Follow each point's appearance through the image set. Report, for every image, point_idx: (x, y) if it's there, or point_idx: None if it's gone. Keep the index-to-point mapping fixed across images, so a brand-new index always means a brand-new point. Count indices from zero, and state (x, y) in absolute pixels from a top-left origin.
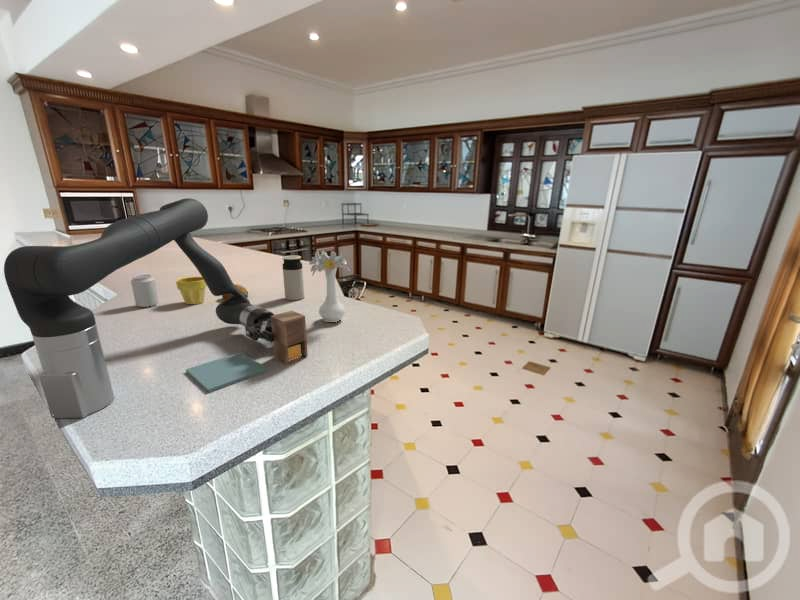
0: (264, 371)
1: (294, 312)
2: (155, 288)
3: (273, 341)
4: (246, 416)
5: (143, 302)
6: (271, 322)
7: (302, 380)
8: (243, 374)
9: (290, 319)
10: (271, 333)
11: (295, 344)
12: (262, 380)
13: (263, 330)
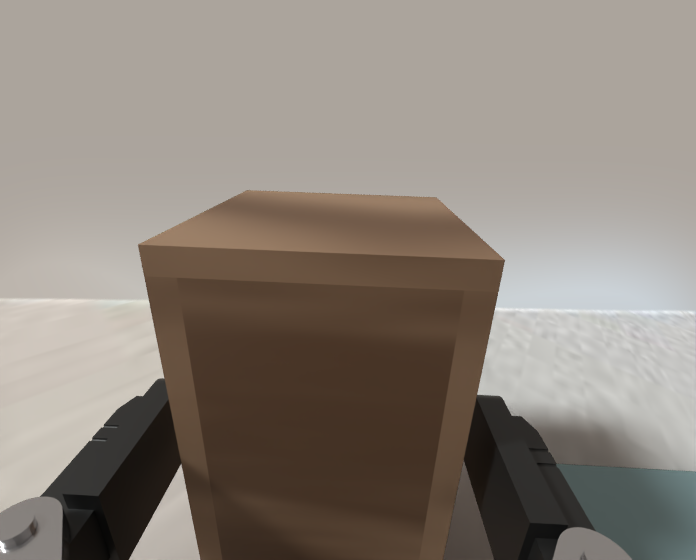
0: None
1: (209, 218)
2: None
3: (466, 450)
4: (605, 326)
5: None
6: (483, 343)
7: None
8: (677, 491)
9: (372, 195)
10: (486, 408)
11: None
12: (556, 421)
13: (580, 546)
